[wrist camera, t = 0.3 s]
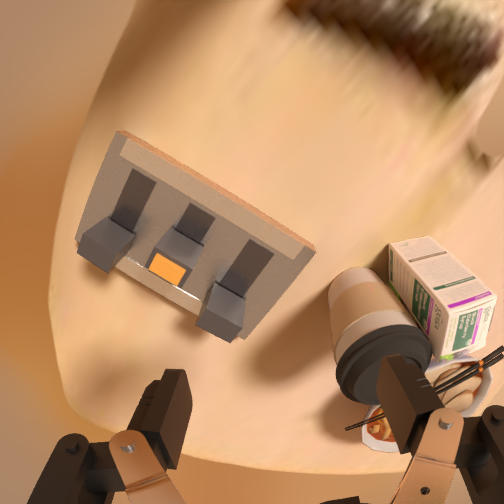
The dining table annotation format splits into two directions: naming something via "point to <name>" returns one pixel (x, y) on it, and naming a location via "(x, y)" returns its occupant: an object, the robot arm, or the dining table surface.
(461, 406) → the ramen bowl
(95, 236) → the block
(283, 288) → the panel
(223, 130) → the dining table surface
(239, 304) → the block
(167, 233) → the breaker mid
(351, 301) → the coffee cup
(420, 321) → the syrup box
